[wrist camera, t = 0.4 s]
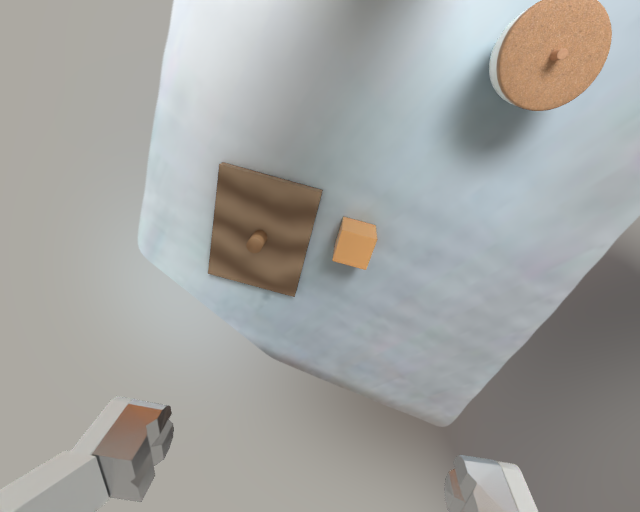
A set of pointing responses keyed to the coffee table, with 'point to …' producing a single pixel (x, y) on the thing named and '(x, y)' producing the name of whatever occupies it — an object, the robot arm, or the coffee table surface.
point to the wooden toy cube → (355, 243)
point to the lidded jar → (550, 53)
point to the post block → (261, 228)
